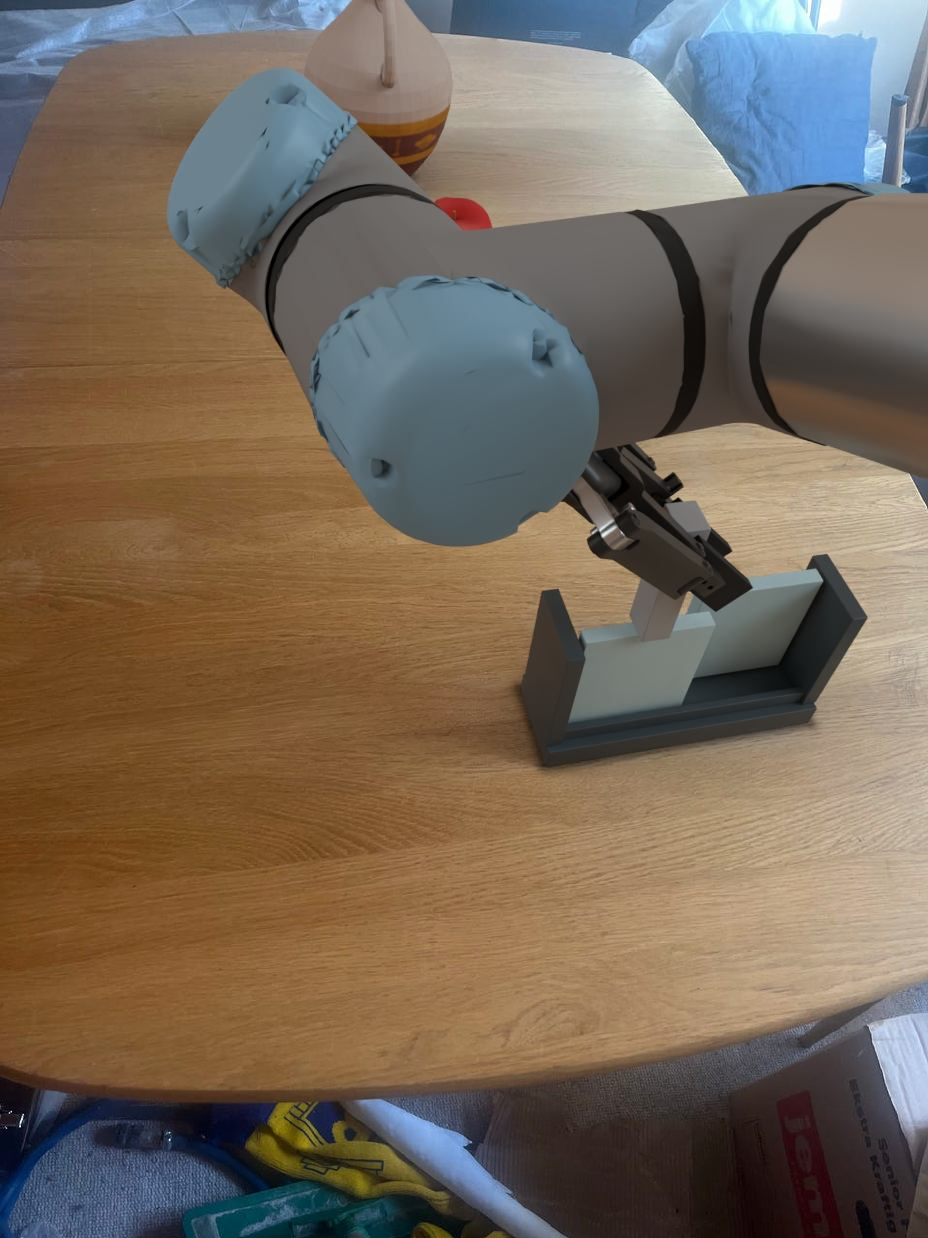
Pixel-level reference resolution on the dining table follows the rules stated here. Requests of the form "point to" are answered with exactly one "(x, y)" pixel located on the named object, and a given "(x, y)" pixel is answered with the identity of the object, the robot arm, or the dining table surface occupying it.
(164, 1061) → the dining table surface
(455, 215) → the apple
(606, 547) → the robot arm
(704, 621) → the pane
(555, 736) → the window frame
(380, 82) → the striped pot
